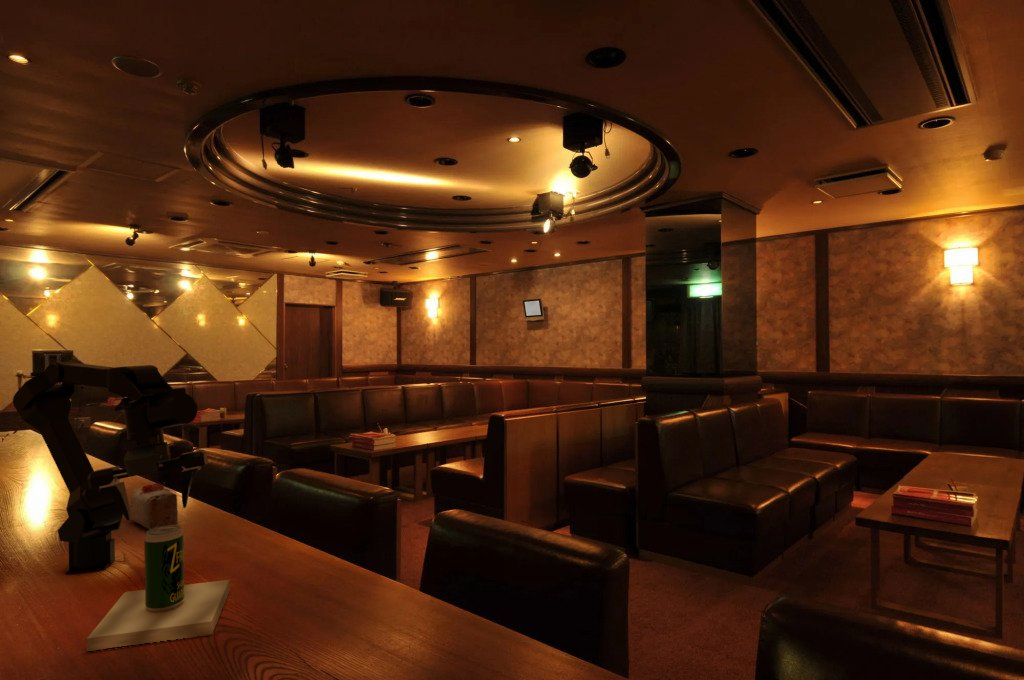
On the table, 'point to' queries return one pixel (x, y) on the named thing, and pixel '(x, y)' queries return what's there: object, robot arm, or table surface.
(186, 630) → the serving board
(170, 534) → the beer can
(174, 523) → the food item
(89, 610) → the table surface
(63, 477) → the robot arm
